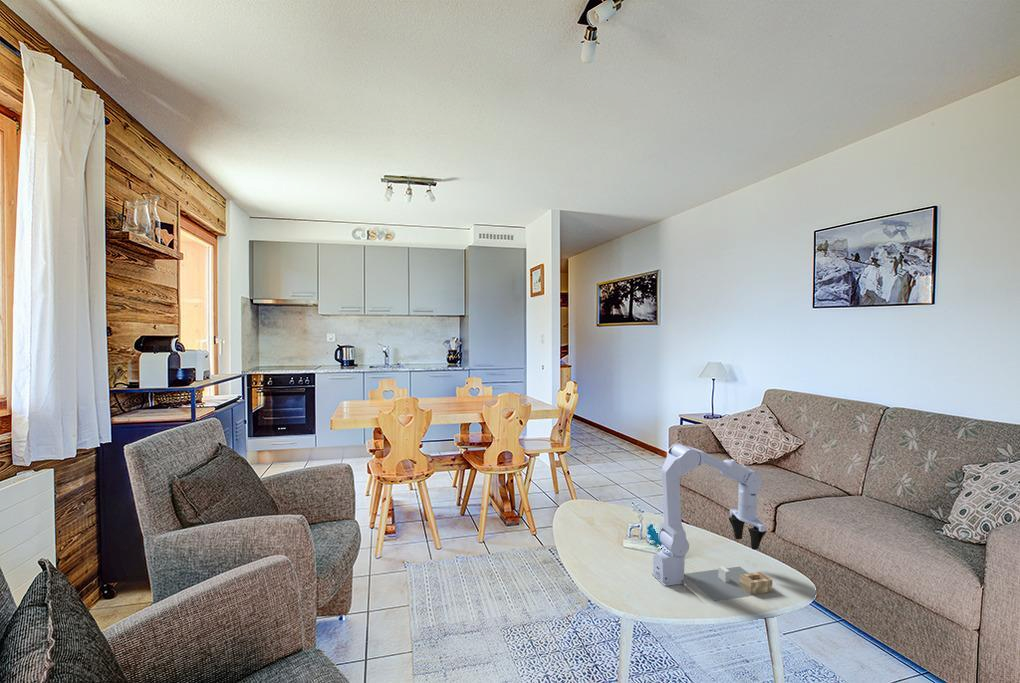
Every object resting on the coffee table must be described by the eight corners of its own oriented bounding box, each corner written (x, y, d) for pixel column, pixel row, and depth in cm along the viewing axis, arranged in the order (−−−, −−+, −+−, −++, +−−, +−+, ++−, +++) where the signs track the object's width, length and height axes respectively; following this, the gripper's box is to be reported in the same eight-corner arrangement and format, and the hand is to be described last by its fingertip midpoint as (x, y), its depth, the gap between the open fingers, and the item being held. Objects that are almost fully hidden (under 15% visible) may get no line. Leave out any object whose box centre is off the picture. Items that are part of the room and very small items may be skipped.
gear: (659, 550, 172) (644, 524, 178) (648, 557, 175) (634, 531, 181) (675, 545, 179) (661, 521, 185) (664, 553, 182) (650, 528, 188)
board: (714, 604, 142) (715, 589, 142) (683, 576, 157) (683, 563, 157) (776, 595, 147) (776, 580, 147) (739, 569, 162) (739, 556, 162)
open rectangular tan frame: (750, 594, 145) (750, 582, 145) (738, 585, 150) (739, 574, 150) (772, 591, 147) (772, 579, 147) (760, 582, 152) (760, 571, 152)
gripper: (774, 511, 154) (773, 552, 154) (742, 495, 168) (741, 533, 168) (756, 513, 152) (754, 554, 153) (725, 497, 166) (724, 535, 167)
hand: (746, 543), depth 160 cm, fingers open, 7 cm apart
